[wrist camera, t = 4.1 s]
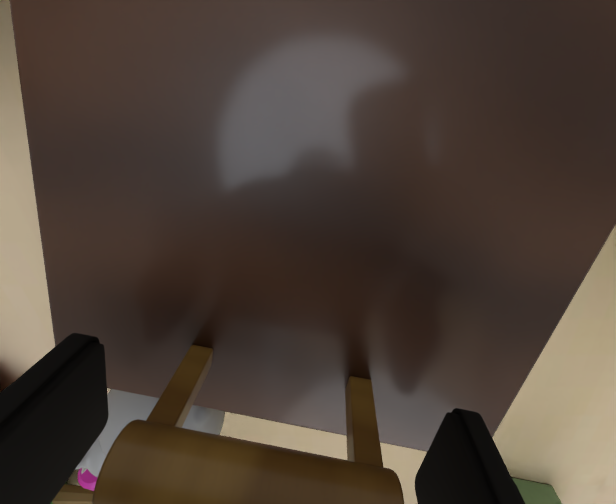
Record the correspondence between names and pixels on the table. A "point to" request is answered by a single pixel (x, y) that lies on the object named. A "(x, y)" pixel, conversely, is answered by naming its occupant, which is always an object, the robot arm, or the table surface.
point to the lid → (313, 218)
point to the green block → (536, 492)
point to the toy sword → (73, 495)
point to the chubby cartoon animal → (139, 407)
